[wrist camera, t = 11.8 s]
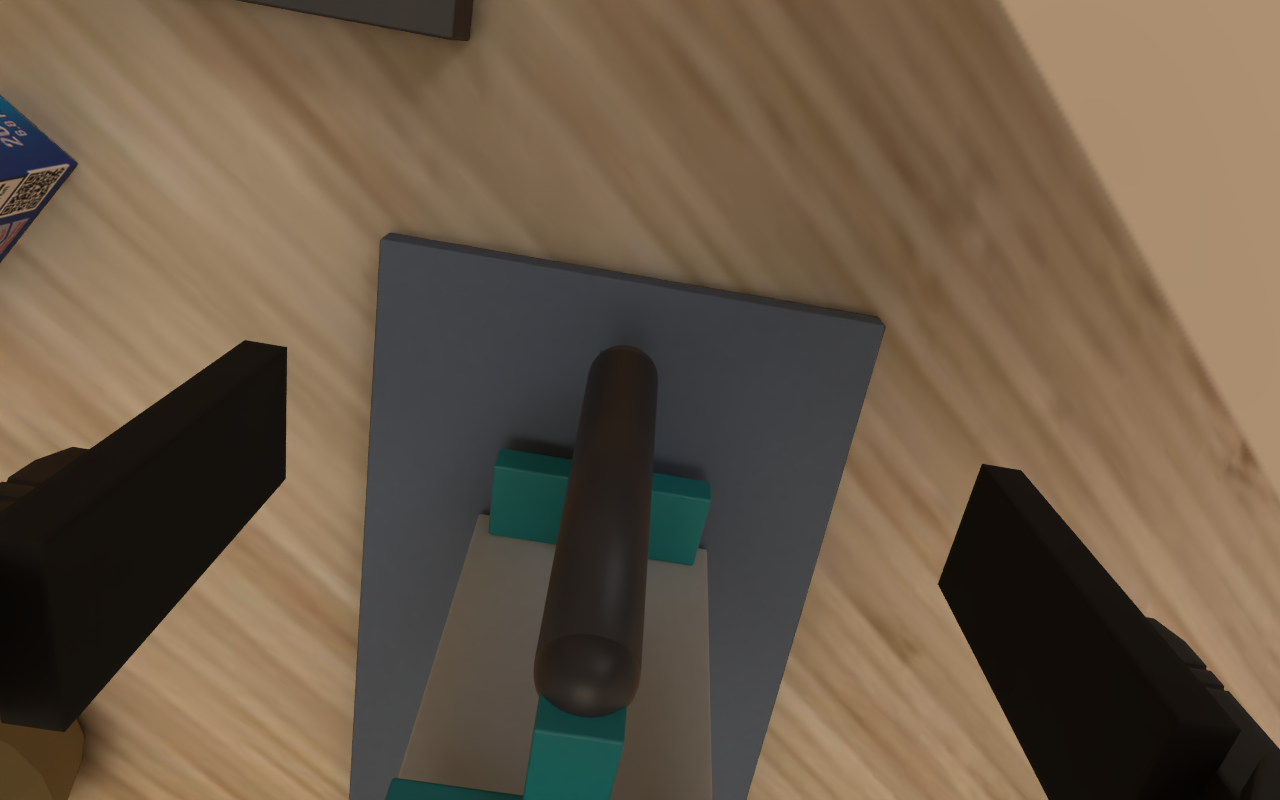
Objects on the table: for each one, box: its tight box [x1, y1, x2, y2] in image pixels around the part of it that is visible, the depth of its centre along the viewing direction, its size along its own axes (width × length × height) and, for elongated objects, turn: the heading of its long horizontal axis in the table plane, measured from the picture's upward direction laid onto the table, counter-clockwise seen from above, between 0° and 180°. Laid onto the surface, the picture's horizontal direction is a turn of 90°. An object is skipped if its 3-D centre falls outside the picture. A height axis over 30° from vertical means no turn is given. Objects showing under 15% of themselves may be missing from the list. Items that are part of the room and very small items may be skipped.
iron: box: [385, 345, 712, 800], centre depth 21 cm, size 16×8×10 cm
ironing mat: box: [349, 233, 885, 800], centre depth 32 cm, size 16×26×1 cm, turn 170°
